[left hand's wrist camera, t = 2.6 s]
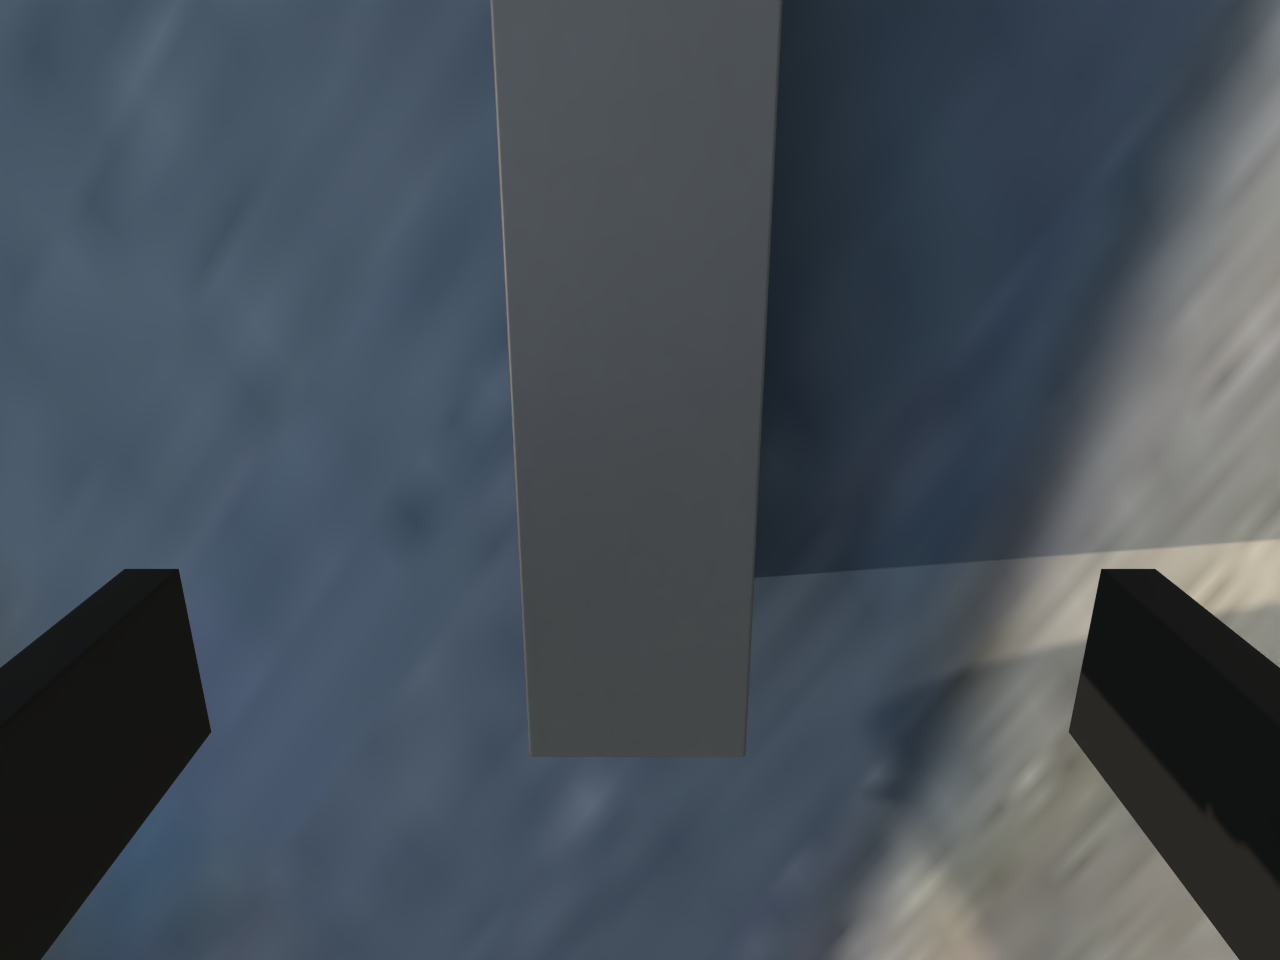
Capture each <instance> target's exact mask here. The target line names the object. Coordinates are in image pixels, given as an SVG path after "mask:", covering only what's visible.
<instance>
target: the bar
mask: <svg viewBox="0 0 1280 960" xmlns="http://www.w3.org/2000/svg"><path fill="white" fill-rule="evenodd" d="M782 8H783V0H490V10H491V29H492V48H493V67H494V86H495V105H496V125H497V144H498V163H499V182H500V201H501V221H502V240H503V259H504V278H505V297H506V317H507V336H508V355H509V374H510V393H511V412H512V432H513V451H514V470H515V489H516V508H517V528H518V547H519V566H520V585H521V604H522V624H523V643H524V662H525V681H526V700H527V719H528V739H529V754H530V756H744V755H745V753H746V733H747V713H748V693H749V673H750V652H751V632H752V612H753V592H754V572H755V552H756V532H757V511H758V491H759V471H760V451H761V431H762V411H763V390H764V370H765V350H766V330H767V310H768V290H769V270H770V249H771V229H772V209H773V189H774V169H775V149H776V129H777V108H778V88H779V68H780V48H781V28H782Z"/></svg>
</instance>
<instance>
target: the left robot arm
mask: <svg viewBox="0 0 1280 960" xmlns="http://www.w3.org/2000/svg"><path fill="white" fill-rule="evenodd" d="M210 733H211V729H210V724H209V719H208V714H207V709H206V704H205V699H204V694H203V689H202V684H201V679H200V674H199V669H198V664H197V659H196V654H195V649H194V644H193V639H192V634H191V629H190V624H189V619H188V614H187V609H186V604H185V599H184V594H183V589H182V584H181V579H180V574H179V569H124V570H123V571H122V572H120V573H119V574H118V575H117V576H115V577H114V578H113V579H112V580H110V581H109V582H108V583H107V584H105V585H104V586H103V587H102V588H100V589H99V590H98V591H97V592H95V593H94V594H93V595H91V596H90V597H89V598H88V599H86V600H85V601H84V602H83V603H81V604H80V605H79V606H78V607H76V608H75V609H74V610H73V611H71V612H70V613H69V614H68V615H66V616H65V617H64V618H63V619H61V620H60V621H59V622H58V623H56V624H55V625H54V626H52V627H51V628H50V629H49V630H47V631H46V632H45V633H44V634H42V635H41V636H40V637H39V638H37V639H36V640H35V641H34V642H32V643H31V644H30V645H29V646H27V647H26V648H25V649H24V650H22V651H21V652H20V653H19V654H17V655H16V656H15V657H14V658H12V659H11V660H10V661H8V662H7V663H6V664H5V665H3V666H2V667H1V668H0V960H41V959H42V957H43V956H44V955H45V953H46V952H47V951H48V949H49V948H50V946H51V945H52V944H53V942H54V941H55V940H56V938H57V937H58V936H59V934H60V933H61V932H62V930H63V929H64V928H65V926H66V925H67V924H68V922H69V921H70V920H71V918H72V917H73V916H74V914H75V913H76V912H77V910H78V909H79V908H80V906H81V905H82V904H83V902H84V901H85V900H86V898H87V897H88V896H89V894H90V893H91V892H92V890H93V889H94V888H95V886H96V885H97V884H98V882H99V881H100V880H101V878H102V877H103V876H104V874H105V873H106V872H107V870H108V869H109V868H110V866H111V865H112V864H113V862H114V861H115V860H116V858H117V857H118V856H119V854H120V853H121V852H122V850H123V849H124V848H125V846H126V845H127V844H128V842H129V841H130V840H131V838H132V837H133V836H134V834H135V833H136V832H137V830H138V829H139V828H140V826H141V825H142V824H143V822H144V821H145V820H146V818H147V817H148V816H149V814H150V813H151V812H152V810H153V809H154V808H155V806H156V805H157V804H158V802H159V801H160V800H161V798H162V797H163V796H164V794H165V793H166V792H167V790H168V789H169V788H170V786H171V785H172V784H173V782H174V781H175V780H176V778H177V777H178V776H179V774H180V773H181V772H182V770H183V769H184V768H185V766H186V765H187V764H188V762H189V761H190V760H191V758H192V757H193V756H194V754H195V753H196V752H197V750H198V749H199V748H200V746H201V745H202V744H203V742H204V741H205V740H206V738H207V737H208V736H209V734H210ZM1069 733H1070V734H1071V736H1072V737H1073V738H1074V740H1075V741H1076V742H1077V744H1078V745H1079V746H1080V748H1081V749H1082V750H1083V752H1084V753H1085V754H1086V756H1087V757H1088V758H1089V760H1090V761H1091V762H1092V764H1093V765H1094V766H1095V768H1096V769H1097V770H1098V772H1099V773H1100V774H1101V776H1102V777H1103V778H1104V780H1105V781H1106V782H1107V784H1108V785H1109V786H1110V788H1111V789H1112V790H1113V792H1114V793H1115V794H1116V796H1117V797H1118V798H1119V800H1120V801H1121V802H1122V804H1123V805H1124V806H1125V808H1126V809H1127V810H1128V812H1129V813H1130V814H1131V816H1132V817H1133V818H1134V820H1135V821H1136V822H1137V824H1138V825H1139V826H1140V828H1141V829H1142V830H1143V832H1144V833H1145V834H1146V836H1147V837H1148V838H1149V840H1150V841H1151V842H1152V844H1153V845H1154V846H1155V848H1156V849H1157V850H1158V852H1159V853H1160V854H1161V856H1162V857H1163V858H1164V860H1165V861H1166V862H1167V864H1168V865H1169V866H1170V868H1171V869H1172V870H1173V872H1174V873H1175V874H1176V876H1177V877H1178V878H1179V880H1180V881H1181V882H1182V884H1183V885H1184V886H1185V888H1186V889H1187V890H1188V892H1189V893H1190V894H1191V896H1192V897H1193V898H1194V900H1195V901H1196V902H1197V904H1198V905H1199V906H1200V908H1201V909H1202V910H1203V912H1204V913H1205V914H1206V916H1207V917H1208V918H1209V920H1210V921H1211V922H1212V924H1213V925H1214V926H1215V928H1216V929H1217V930H1218V932H1219V933H1220V934H1221V936H1222V937H1223V938H1224V940H1225V941H1226V942H1227V944H1228V945H1229V946H1230V948H1231V949H1232V951H1233V952H1234V953H1235V955H1236V956H1237V957H1238V959H1239V960H1280V668H1279V667H1278V666H1277V665H1275V664H1274V663H1273V662H1272V661H1270V660H1269V659H1268V658H1266V657H1265V656H1264V655H1263V654H1261V653H1260V652H1259V651H1258V650H1256V649H1255V648H1254V647H1253V646H1251V645H1250V644H1249V643H1248V642H1246V641H1245V640H1244V639H1243V638H1241V637H1240V636H1239V635H1238V634H1236V633H1235V632H1234V631H1233V630H1231V629H1230V628H1229V627H1228V626H1226V625H1225V624H1224V623H1222V622H1221V621H1220V620H1219V619H1217V618H1216V617H1215V616H1214V615H1212V614H1211V613H1210V612H1209V611H1207V610H1206V609H1205V608H1204V607H1202V606H1201V605H1200V604H1199V603H1197V602H1196V601H1195V600H1194V599H1192V598H1191V597H1190V596H1189V595H1187V594H1186V593H1185V592H1183V591H1182V590H1181V589H1180V588H1178V587H1177V586H1176V585H1175V584H1173V583H1172V582H1171V581H1170V580H1168V579H1167V578H1166V577H1165V576H1163V575H1162V574H1161V573H1160V572H1158V571H1157V570H1156V569H1101V574H1100V579H1099V584H1098V589H1097V594H1096V599H1095V604H1094V609H1093V614H1092V619H1091V624H1090V629H1089V634H1088V639H1087V644H1086V649H1085V654H1084V659H1083V664H1082V669H1081V674H1080V679H1079V684H1078V689H1077V694H1076V699H1075V704H1074V709H1073V714H1072V719H1071V724H1070V729H1069Z"/></svg>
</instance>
